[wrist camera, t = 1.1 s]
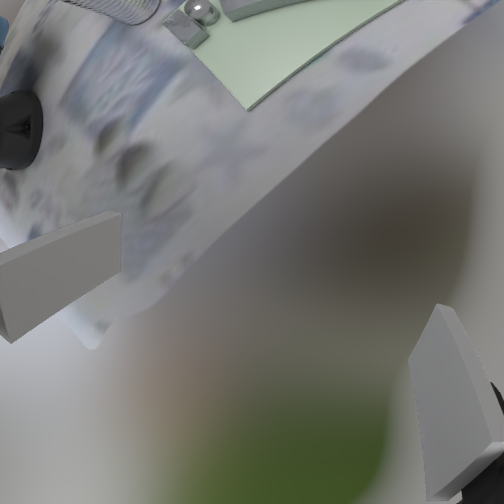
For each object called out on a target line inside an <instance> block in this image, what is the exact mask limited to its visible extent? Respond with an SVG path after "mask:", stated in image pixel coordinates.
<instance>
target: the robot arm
mask: <svg viewBox="0 0 504 504" xmlns="http://www.w3.org/2000/svg"><path fill="white" fill-rule="evenodd" d="M8 30H9V23H8V21H7V20H6V19H5V18H3V17H1V16H0V54H1V51H2V50H3V48H4V42H5V39H6V36H7V33H8ZM42 125H43V119H42V109H41V105H40V102H39V100H38V98H37V96H36V95H35V94H34V93H33V92H32V91H29V90H17V91H14V92H12V93H10V94H8V95H5V96H3V97H0V168H6V169H7V170H19V169H23V168H26V167H27V166H29V165H30V164H31V162H32V161H33V159H34V158H35V156H36V154H37V151H38V148H39V145H40V141H41V136H42ZM121 227H122V214H121V213H117V212H113V211H110V210H108V211H106V212H103V213H100V214H97V215H94V216H92V217H89V218H86V219H83V220H81V221H78V222H75V223H73V224H70V225H67V226H65V227H62V228H59V229H57V230H54V231H52V232H49V233H47V234H44V235H42V236H39V237H37V238H34V239H32V240H30V241H27V242H25V243H22V244H20V245H18V246H15V247H13V248H11V249H9V250H7V251H4V252H2V253H0V335H1V336H2V337H4V338H5V339H6V340H7V341H8V342H10V343H11V344H12V343H13V342H15V341H16V340H17V339H19V338H20V337H22V336H23V335H24V334H26V333H27V332H29V331H30V330H32V329H33V328H35V327H36V326H38V325H39V324H40V323H42V322H43V321H45V320H46V319H48V318H49V317H51V316H52V315H54V314H55V313H57V312H58V311H60V310H61V309H63V308H64V307H66V306H67V305H69V304H70V303H72V302H73V301H75V300H76V299H78V298H79V297H81V296H82V295H84V294H86V293H87V292H89V291H90V290H92V289H93V288H95V287H96V286H98V285H100V284H101V283H103V282H104V281H106V280H107V279H109V278H111V277H112V276H114V275H115V274H117V273H119V272H120V266H121ZM408 364H409V368H410V373H411V378H412V384H413V389H414V394H415V400H416V406H417V412H418V419H419V426H420V433H421V441H422V450H423V459H424V471H425V484H426V501H448V500H450V499H451V498H452V497H453V496H455V495H456V494H457V493H459V492H460V491H462V498H463V499H462V500H461V501H460V502H458V503H457V504H504V400H503V398H502V396H501V394H500V392H499V391H498V390H497V388H496V387H495V386H494V384H493V383H492V382H490V381H489V379H488V376H487V374H486V372H485V370H484V368H483V366H482V363H481V361H480V359H479V357H478V355H477V353H476V351H475V350H474V347H473V345H472V343H471V341H470V339H469V337H468V335H467V333H466V332H465V330H464V328H463V326H462V324H461V322H460V320H459V319H458V317H457V315H456V313H455V311H454V310H453V308H451V307H447V306H444V305H441V304H436V306H435V308H434V310H433V313H432V315H431V317H430V319H429V321H428V323H427V325H426V327H425V329H424V331H423V333H422V335H421V337H420V339H419V341H418V343H417V344H416V346H415V348H414V350H413V352H412V354H411V355H410V357H409V359H408Z"/></svg>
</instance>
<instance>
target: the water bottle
mask: <svg viewBox="0 0 504 504" xmlns="http://www.w3.org/2000/svg"><path fill="white" fill-rule="evenodd" d="M61 1H63V2H65V3H69V4H71V5H75V6H78V7H81V8H84V9H87V10H90V11H92V12H95V13H98V14H101V15H104V16H106V17H109V18H112V19H114V20H117V21H119V22H121V23H125V24H129V25H135V24H139V23H142V22H144V21H145V20H147V19H148V18H149V17H150V16H151V15H152V14H153V13H154V12H155V11H156V9H157V7H158V5H159V1H160V0H61Z"/></svg>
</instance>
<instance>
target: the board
mask: <svg viewBox="0 0 504 504" xmlns="http://www.w3.org/2000/svg"><path fill="white" fill-rule="evenodd" d="M187 1H188V0H186V1H185V2H184V3H183V4H182V5H181V6H180V7H179V8H178V9H180V10H181V11H183V12H184V13H185V11H184V6H185V3H186V2H187ZM208 1H209V2H211V3H212V4H213V5H214V6H215V7H216V8H217V9H218V10H219V12H220V18H219V20H218V21H217V22H216V23H215V24H214V25H211V26H202V25H201V24H199V23H198V22H197V21H195V20H194V19H193V18H192V19H193V20H194V21H195V22H196V23H197V24H198V25H199V26H200V27H201V28H202V29H204V30H205V31H206V32H207V33H208V34H209V36H208V37H207V38H205V39H204V40H203V41H202V42H201V43H200V44H199V45H198V46H197V47H196V48H195V49H194V50H193V49H191V48H189V47H188V48H189V49H190V50H191V51H192V52H193V53H194V54H195V55H196V56H197V57H198V58H199V59H200V60H201V61H202V62H203V63H204V64H205V65H206V66H207V68H208V69H209V70H210V71H211V72H212V73H213V74H214V75H215V76H216V77H217V78H218V79H219V80H220V81H221V82H222V84H223V85H224V86H225V87H226V88H227V89H228V90H229V91H230V92H231V93H232V95H233V96H234V97H235V98H236V99H237V100H238V101H239V102H240V103H241V105H242V106H243V107H244V108H245V109H246V110H248V111H250V110H251V109H252V108H253V107H255V106H256V105H257V104H258V103H259V102H261V101H262V100H263V99H264V98H265V97H267V96H268V95H269V94H270V93H272V92H273V91H274V90H275V89H276V88H278V87H279V86H280V85H281V84H283V83H284V82H285V81H287V80H288V79H289V78H290V77H292V76H293V75H294V74H296V73H297V72H298V71H299V70H301V69H302V68H303V67H305V66H306V65H307V64H309V63H310V62H311V61H313V60H314V59H316V58H317V57H318V56H320V55H321V54H322V53H324V52H325V51H327V50H328V49H329V48H331V47H332V46H334V45H335V44H337V43H338V42H339V41H341V40H342V39H344V38H345V37H347V36H348V35H350V34H351V33H353V32H354V31H356V30H357V29H359V28H360V27H362V26H363V25H365V24H366V23H368V22H370V21H371V20H373V19H374V18H376V17H378V16H379V15H381V14H382V13H384V12H386V11H387V10H389V9H391V8H392V7H394V6H396V5H397V4H399V3H401V2H403V1H404V0H308V1H303V2H299V3H295V4H290V5H286V6H282V7H279V8H275V9H271V10H268V11H264V12H261V13H258V14H254V15H251V16H248V17H245V18H242V19H239V20H236V21H233V22H232V21H231V20H230V19H229V18H228V17H227V16H226V15H225V14H223V10H222V7H221V4H220V1H219V0H208ZM175 11H176V10H175ZM175 11H174V12H175ZM174 12H173V13H174ZM173 13H172V14H173ZM172 14H171V15H172ZM171 15H170V16H171ZM170 16H169V17H170ZM169 17H168V18H169ZM189 17H190V16H189ZM168 18H167V19H168ZM190 18H191V17H190ZM167 19H166V20H167ZM166 20H165V21H166ZM165 21H164V22H165ZM164 22H163V23H164Z"/></svg>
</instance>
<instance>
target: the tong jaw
mask: <svg viewBox="0 0 504 504" xmlns="http://www.w3.org/2000/svg"><path fill="white" fill-rule="evenodd" d="M219 1H220V4H221V7H222V10H223V14H225V15H226V16H227V17H228V18H229V19H230V20H231V21H232V22H233V21H236V20H239V19H242V18H245V17H248V16H251V15H254V14H258V13H261V12H264V11H268V10H271V9H275V8H279V7H282V6H286V5H290V4H295V3H299V2H303V1H308V0H219Z"/></svg>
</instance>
